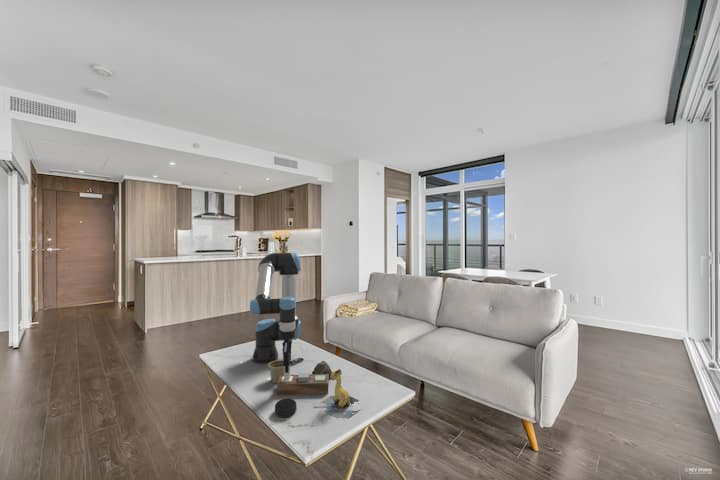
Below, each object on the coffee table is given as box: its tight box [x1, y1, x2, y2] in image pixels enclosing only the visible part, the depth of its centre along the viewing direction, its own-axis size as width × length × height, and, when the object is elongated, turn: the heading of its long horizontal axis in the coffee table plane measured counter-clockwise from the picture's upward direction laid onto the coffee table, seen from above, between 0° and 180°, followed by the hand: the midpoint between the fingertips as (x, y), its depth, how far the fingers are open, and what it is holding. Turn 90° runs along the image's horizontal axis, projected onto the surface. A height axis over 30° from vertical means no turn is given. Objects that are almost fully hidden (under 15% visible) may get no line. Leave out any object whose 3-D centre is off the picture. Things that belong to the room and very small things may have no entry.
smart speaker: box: [274, 398, 297, 418], centre depth 131 cm, size 9×9×4 cm
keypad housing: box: [276, 373, 330, 396], centre depth 151 cm, size 10×24×5 cm, turn 94°
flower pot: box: [267, 359, 284, 384], centre depth 160 cm, size 9×9×9 cm
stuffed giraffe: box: [313, 368, 360, 420], centre depth 136 cm, size 16×18×16 cm
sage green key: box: [315, 375, 326, 381], centre depth 151 cm, size 5×5×2 cm
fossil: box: [311, 360, 333, 380], centre depth 165 cm, size 11×9×10 cm
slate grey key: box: [298, 372, 310, 382], centre depth 151 cm, size 5×5×2 cm
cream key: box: [281, 376, 293, 382], centre depth 150 cm, size 5×5×2 cm
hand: (287, 378), depth 150 cm, fingers closed
